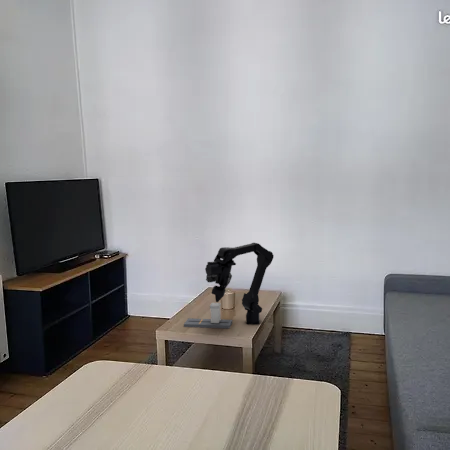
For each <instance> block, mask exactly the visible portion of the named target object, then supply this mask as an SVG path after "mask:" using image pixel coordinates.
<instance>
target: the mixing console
mask: <svg viewBox="0 0 450 450" xmlns="http://www.w3.org/2000/svg"><path fill="white" fill-rule="evenodd" d="M232 324H233V319H222V318H220V322H219V323H211V318H190V317H189V318H187V319H186V320H185V322H184V324H183V328H203V329H204V328H205V329H231V326H232Z"/></svg>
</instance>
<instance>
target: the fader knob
mask: <svg viewBox="0 0 450 450" xmlns="http://www.w3.org/2000/svg"><path fill="white" fill-rule="evenodd" d="M221 304H222V303H221V302H211V303H210V305H209V309H210V319H211V323H219V322H220V319H221Z"/></svg>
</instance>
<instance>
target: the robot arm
mask: <svg viewBox="0 0 450 450" xmlns="http://www.w3.org/2000/svg"><path fill="white" fill-rule="evenodd" d="M248 253H254V254H255V255H256V264H257V266H256V270H255V272H254V276H253V278H252V282H251V284H250V287H249V291H248V292H245V293H243V296H242V299H241V305H242V307H243V308H244V310H245V311H246V313H245V322H246V325H260V322H261V319H260V316H261V315H260V314H261V313H262V311H263V307H262V306H260V305H259V302H260V298H259V292H260V289H261V286H262V283H263V280H264V277H265V274H266V271H267V268H268V267H269V266H270V265H271V264H272V262H273V259H274V255H275V254H273V252H272V251H271V250H268V249H267V248H265V247H264V246H262V245H261V243H258V242H251V243H247V244H244V245H240V246H235V247H230V246H228V247H220V248H219V250H218V252H217V254H216V256H215V257H214V259H213V261H207V264H206V266H205V269H204V270H205V271H204V272H205V274H206V279H205V281H206V282H207V283H214V284H216V285H214V286H213V287H212V289H211V294H212V295H214V296H215V297H214V299H215V303H220V300H221V299H222V298H223V297H224V296H225V294H226V291H227V290H226V289H227V287H228V286H229V284H230V283H231V280H232V277H233V275H232V273H231V271H232V269H233V268H232V267H233V266H236V265H237V263H236V262H235V260H234V259H235V258H236V257H237V256H241V255H246V254H248ZM217 284H218V285H217Z"/></svg>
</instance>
